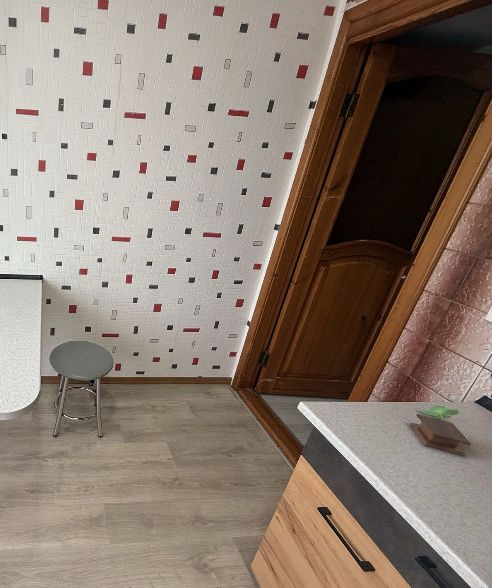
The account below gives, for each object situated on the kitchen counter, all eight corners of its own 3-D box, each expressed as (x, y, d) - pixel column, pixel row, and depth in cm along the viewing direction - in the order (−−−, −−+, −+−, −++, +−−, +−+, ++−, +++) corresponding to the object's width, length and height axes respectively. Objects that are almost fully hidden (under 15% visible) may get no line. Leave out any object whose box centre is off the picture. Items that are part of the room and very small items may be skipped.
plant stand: (443, 434, 94) (452, 422, 93) (462, 456, 87) (471, 443, 86) (409, 425, 97) (416, 413, 95) (424, 445, 90) (432, 433, 88)
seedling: (429, 436, 100) (425, 415, 103) (469, 438, 94) (462, 415, 97) (421, 426, 97) (416, 405, 101) (461, 427, 91) (454, 405, 95)
